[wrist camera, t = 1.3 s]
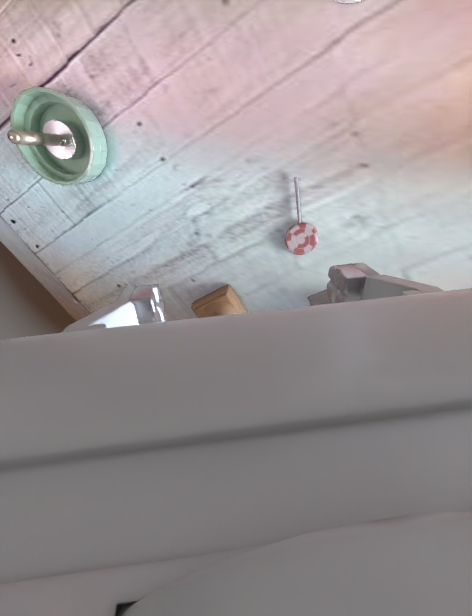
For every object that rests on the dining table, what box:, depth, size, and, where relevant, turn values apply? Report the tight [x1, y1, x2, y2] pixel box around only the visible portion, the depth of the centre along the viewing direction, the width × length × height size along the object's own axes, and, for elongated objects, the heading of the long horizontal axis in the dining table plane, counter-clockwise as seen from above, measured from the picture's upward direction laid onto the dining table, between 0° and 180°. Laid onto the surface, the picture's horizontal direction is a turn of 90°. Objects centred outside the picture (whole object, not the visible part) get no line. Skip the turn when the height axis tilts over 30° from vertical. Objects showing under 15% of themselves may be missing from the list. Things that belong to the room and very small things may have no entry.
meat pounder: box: [7, 120, 85, 160], centre depth 44 cm, size 6×6×14 cm
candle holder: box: [191, 285, 248, 318], centre depth 56 cm, size 11×11×24 cm
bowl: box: [10, 87, 107, 185], centre depth 48 cm, size 14×14×5 cm
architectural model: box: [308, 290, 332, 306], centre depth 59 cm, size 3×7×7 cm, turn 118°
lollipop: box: [285, 177, 318, 255], centre depth 53 cm, size 7×1×15 cm
